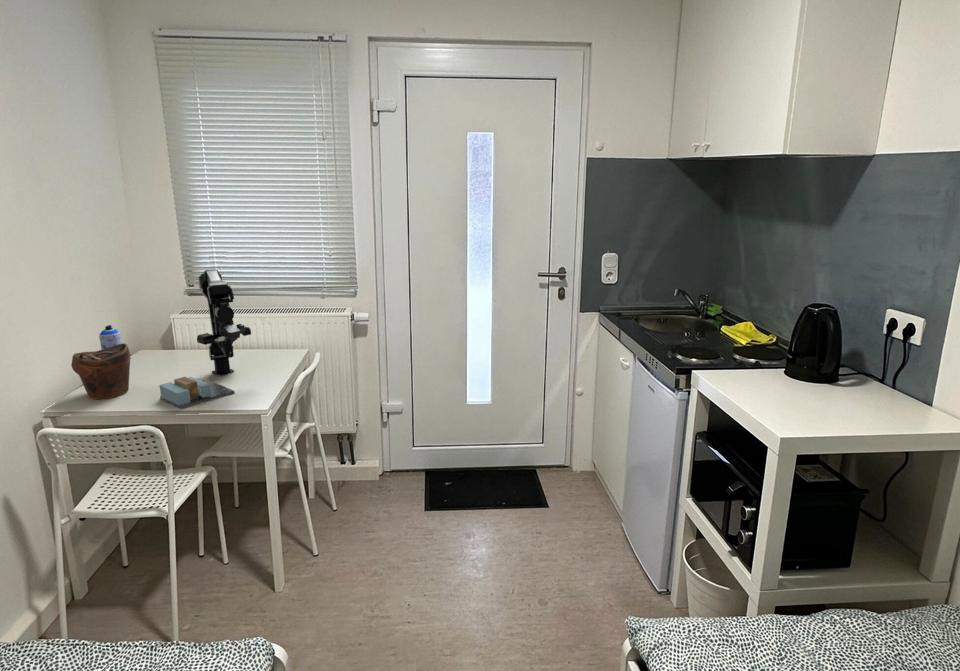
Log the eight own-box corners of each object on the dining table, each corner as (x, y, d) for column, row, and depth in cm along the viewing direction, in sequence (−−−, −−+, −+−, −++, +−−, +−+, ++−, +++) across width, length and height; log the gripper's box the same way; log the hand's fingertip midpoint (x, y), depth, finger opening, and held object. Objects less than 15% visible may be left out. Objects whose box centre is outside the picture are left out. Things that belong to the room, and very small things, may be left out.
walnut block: (188, 400, 223) (185, 384, 221) (176, 394, 228) (174, 379, 227) (198, 397, 226) (196, 381, 224) (187, 391, 231) (184, 376, 230)
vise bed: (160, 398, 228) (159, 396, 227) (213, 384, 242) (212, 381, 242) (180, 408, 218) (180, 406, 217) (234, 393, 232) (234, 390, 232)
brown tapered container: (64, 400, 226) (56, 353, 222) (109, 383, 245) (102, 339, 240) (104, 406, 222) (96, 357, 217) (147, 387, 240) (141, 342, 236)
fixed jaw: (161, 396, 227) (159, 385, 226) (173, 393, 230) (171, 381, 229) (179, 405, 218) (177, 393, 217) (191, 402, 221) (189, 390, 220)
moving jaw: (183, 389, 233) (182, 379, 232) (192, 387, 235) (191, 376, 234) (202, 398, 224) (200, 387, 223) (211, 395, 227) (209, 384, 225)
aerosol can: (120, 375, 253) (112, 328, 248) (101, 376, 253) (92, 328, 248) (130, 369, 261) (123, 323, 256) (112, 370, 261) (104, 323, 256)
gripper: (208, 324, 221) (214, 366, 225) (256, 315, 234) (261, 355, 238) (193, 320, 228) (199, 361, 232) (241, 311, 241) (245, 349, 245)
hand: (227, 356), depth 237 cm, fingers closed
